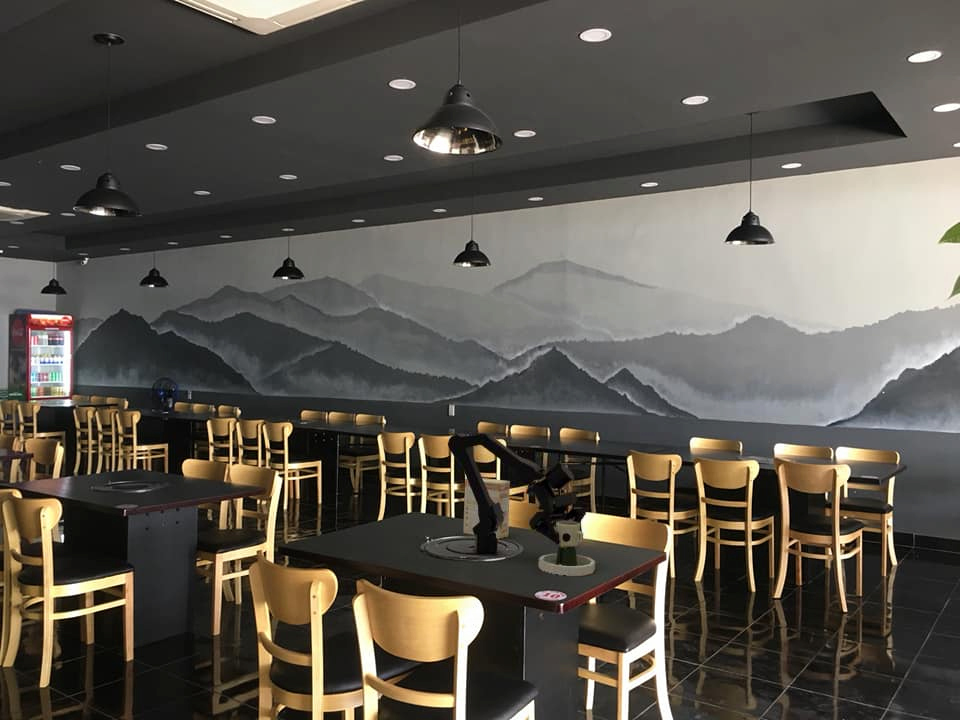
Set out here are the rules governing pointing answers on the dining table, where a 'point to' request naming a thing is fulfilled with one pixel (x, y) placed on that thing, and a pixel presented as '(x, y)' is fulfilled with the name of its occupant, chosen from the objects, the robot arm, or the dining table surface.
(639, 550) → the dining table surface
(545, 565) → the grey ring base
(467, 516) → the coffeecake box
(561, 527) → the character mug
